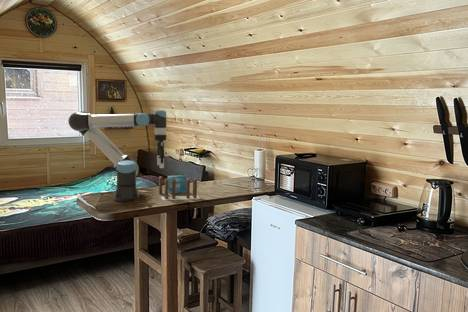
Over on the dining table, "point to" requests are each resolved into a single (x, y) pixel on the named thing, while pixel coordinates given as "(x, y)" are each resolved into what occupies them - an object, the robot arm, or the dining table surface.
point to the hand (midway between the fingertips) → (160, 166)
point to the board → (179, 198)
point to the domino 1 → (160, 184)
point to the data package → (177, 183)
